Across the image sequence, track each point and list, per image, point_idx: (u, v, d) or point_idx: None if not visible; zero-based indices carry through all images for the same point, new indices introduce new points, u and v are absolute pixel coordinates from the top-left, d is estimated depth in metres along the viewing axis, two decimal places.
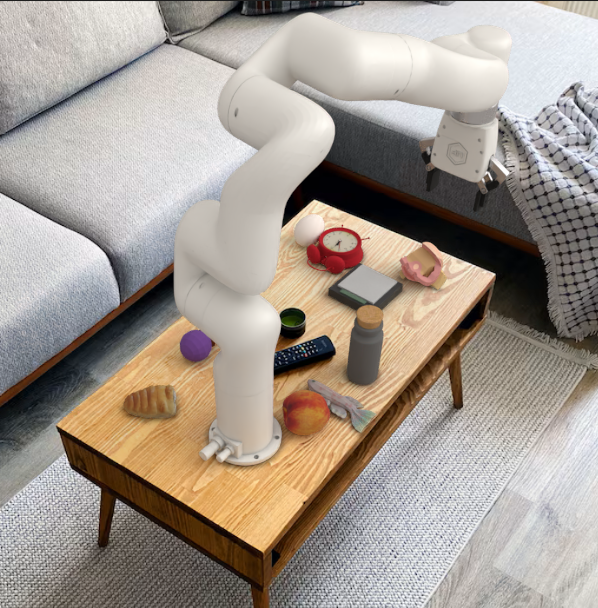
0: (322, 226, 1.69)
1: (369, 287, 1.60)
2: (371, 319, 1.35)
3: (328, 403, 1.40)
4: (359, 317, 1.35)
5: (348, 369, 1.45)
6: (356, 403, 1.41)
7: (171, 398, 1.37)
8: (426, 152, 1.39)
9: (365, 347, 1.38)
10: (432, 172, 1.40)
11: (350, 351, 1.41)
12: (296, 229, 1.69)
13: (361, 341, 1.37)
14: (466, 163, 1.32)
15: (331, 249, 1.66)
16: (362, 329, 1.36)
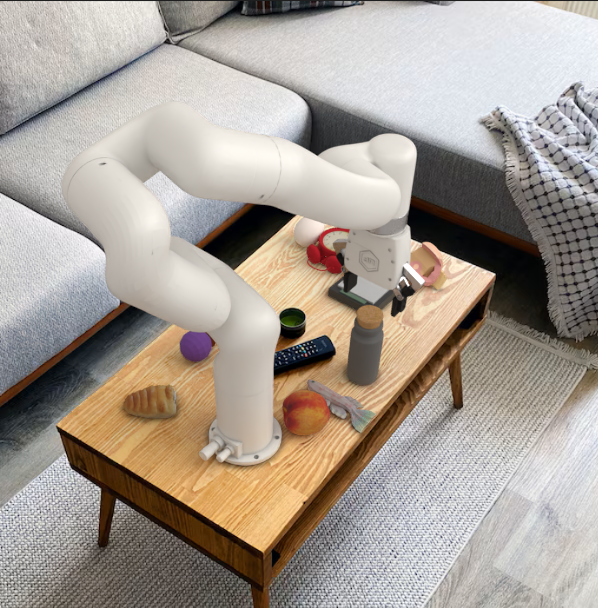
0: (322, 226, 1.69)
1: (369, 287, 1.60)
2: (371, 319, 1.35)
3: (328, 403, 1.40)
4: (359, 317, 1.35)
5: (348, 369, 1.45)
6: (356, 403, 1.41)
7: (171, 398, 1.37)
8: (341, 254, 1.31)
9: (365, 347, 1.38)
10: (348, 274, 1.32)
11: (350, 351, 1.41)
12: (296, 229, 1.69)
13: (361, 341, 1.37)
14: (378, 271, 1.25)
15: (331, 249, 1.66)
16: (362, 329, 1.36)
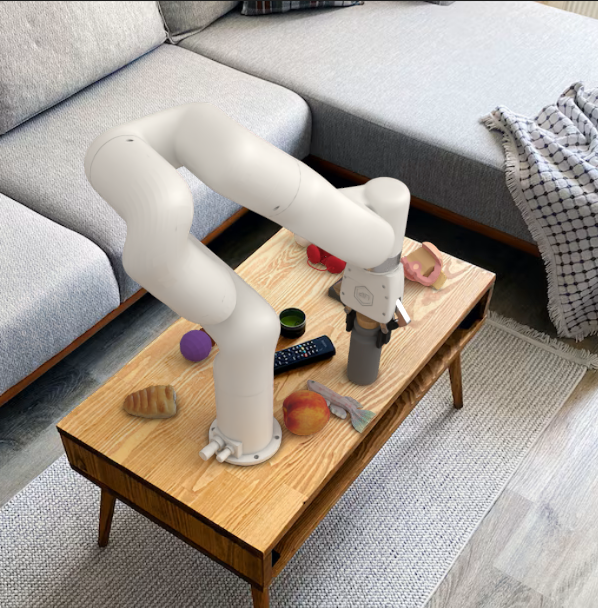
0: None
1: None
2: (371, 319, 1.35)
3: (328, 403, 1.40)
4: (359, 317, 1.35)
5: (348, 369, 1.45)
6: (356, 403, 1.41)
7: (171, 398, 1.37)
8: None
9: (365, 347, 1.38)
10: (350, 315, 1.37)
11: (350, 351, 1.41)
12: None
13: (361, 341, 1.37)
14: (373, 305, 1.30)
15: None
16: (362, 329, 1.36)
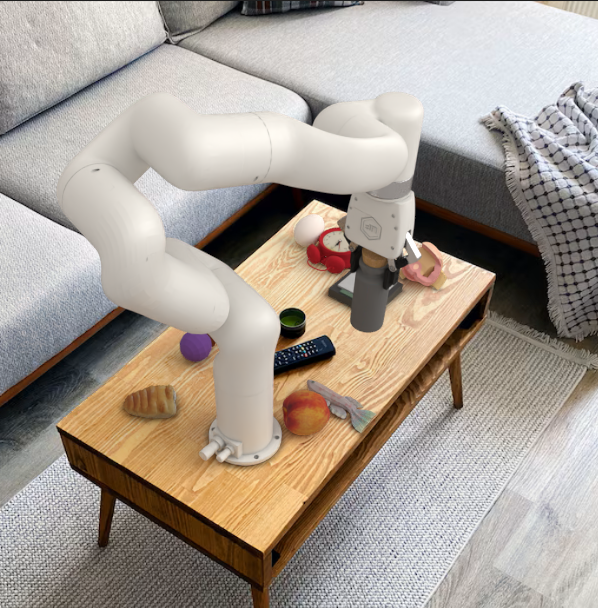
0: (322, 226, 1.69)
1: None
2: (378, 257, 1.25)
3: (328, 404, 1.40)
4: (365, 254, 1.25)
5: (352, 315, 1.34)
6: (356, 403, 1.41)
7: (171, 398, 1.37)
8: None
9: (371, 288, 1.27)
10: (355, 253, 1.27)
11: (354, 294, 1.31)
12: (296, 229, 1.69)
13: (367, 281, 1.27)
14: (381, 239, 1.20)
15: (331, 249, 1.66)
16: (368, 267, 1.26)
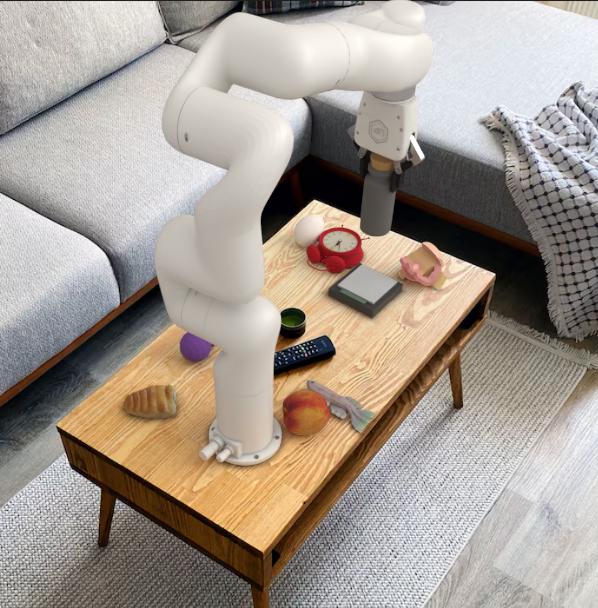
0: (322, 226, 1.69)
1: (369, 287, 1.60)
2: (385, 160, 1.36)
3: (328, 404, 1.40)
4: (373, 158, 1.36)
5: (361, 220, 1.46)
6: (356, 403, 1.41)
7: (171, 398, 1.37)
8: None
9: (379, 191, 1.39)
10: (364, 159, 1.39)
11: (364, 199, 1.43)
12: (296, 229, 1.69)
13: (375, 185, 1.39)
14: (387, 141, 1.31)
15: (331, 249, 1.66)
16: (376, 171, 1.37)
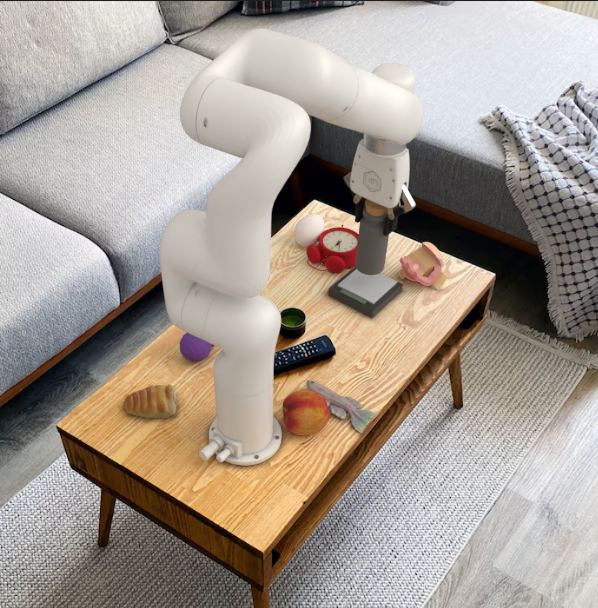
0: (322, 226, 1.69)
1: (369, 287, 1.60)
2: (379, 206, 1.45)
3: (328, 404, 1.40)
4: (368, 205, 1.46)
5: (357, 260, 1.55)
6: (356, 403, 1.41)
7: (171, 398, 1.37)
8: None
9: (373, 234, 1.48)
10: (359, 205, 1.48)
11: (359, 241, 1.52)
12: (296, 229, 1.69)
13: (370, 229, 1.48)
14: (381, 190, 1.41)
15: (331, 249, 1.66)
16: (371, 216, 1.46)
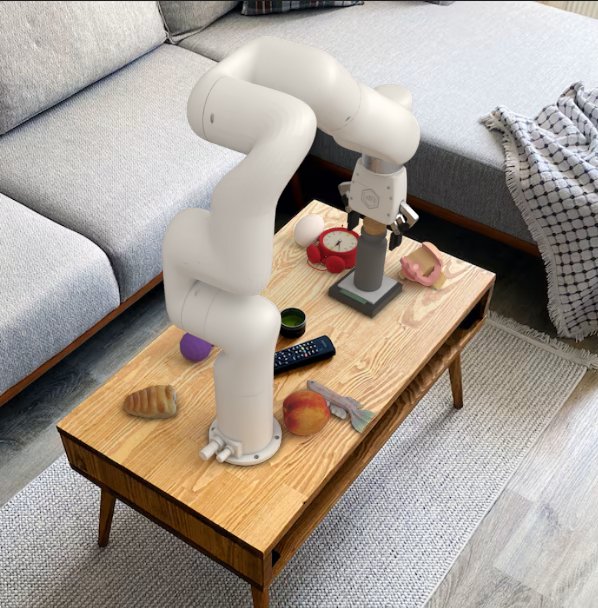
0: (322, 226, 1.69)
1: None
2: (376, 226, 1.49)
3: (328, 404, 1.40)
4: (365, 224, 1.49)
5: (355, 277, 1.58)
6: (356, 403, 1.41)
7: (171, 398, 1.37)
8: (345, 195, 1.50)
9: (371, 252, 1.52)
10: (351, 214, 1.51)
11: (357, 258, 1.55)
12: (296, 229, 1.69)
13: (367, 247, 1.51)
14: (378, 207, 1.43)
15: (331, 249, 1.66)
16: (368, 235, 1.50)
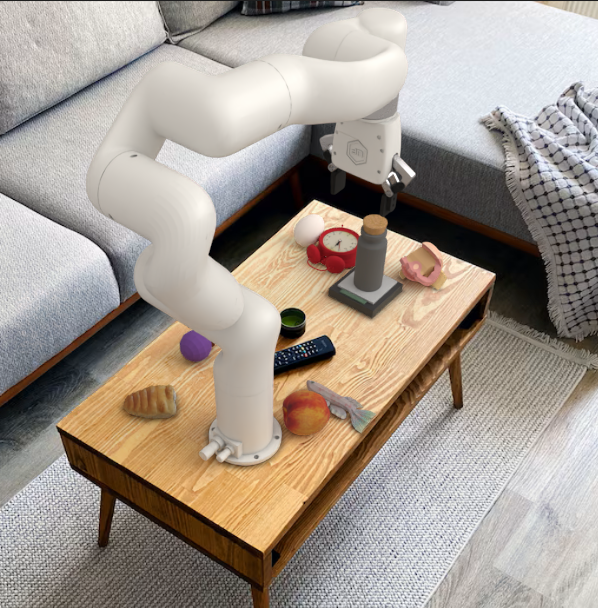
0: (322, 226, 1.69)
1: None
2: (376, 226, 1.49)
3: (328, 404, 1.40)
4: (365, 224, 1.49)
5: (355, 277, 1.58)
6: (356, 403, 1.41)
7: (171, 398, 1.37)
8: (328, 151, 1.25)
9: (371, 252, 1.52)
10: (335, 173, 1.26)
11: (357, 258, 1.55)
12: (296, 229, 1.69)
13: (367, 247, 1.51)
14: (367, 163, 1.19)
15: (331, 249, 1.66)
16: (368, 235, 1.50)
